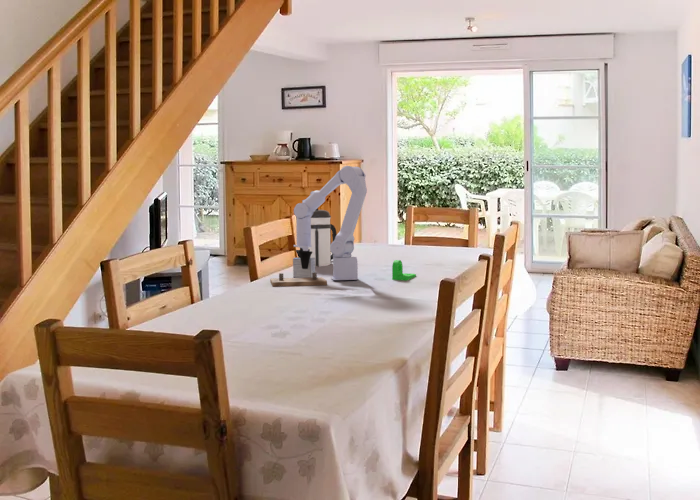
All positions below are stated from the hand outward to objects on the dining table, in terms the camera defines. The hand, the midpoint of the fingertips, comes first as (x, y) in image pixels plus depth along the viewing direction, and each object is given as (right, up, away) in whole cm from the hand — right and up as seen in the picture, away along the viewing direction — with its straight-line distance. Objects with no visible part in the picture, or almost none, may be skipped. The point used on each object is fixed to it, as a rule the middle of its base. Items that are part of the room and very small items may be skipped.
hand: (303, 268), depth 307 cm
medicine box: (0, -5, 0) cm, 5 cm away
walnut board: (-1, -6, -16) cm, 17 cm away
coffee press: (+4, -3, +31) cm, 32 cm away
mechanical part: (+40, -5, -3) cm, 41 cm away
